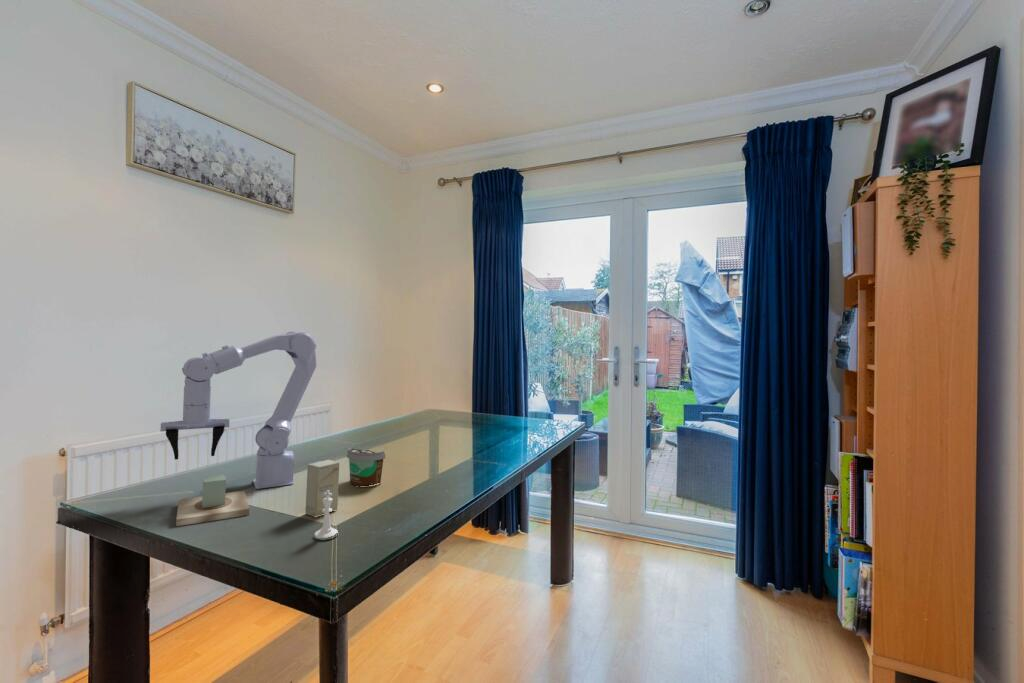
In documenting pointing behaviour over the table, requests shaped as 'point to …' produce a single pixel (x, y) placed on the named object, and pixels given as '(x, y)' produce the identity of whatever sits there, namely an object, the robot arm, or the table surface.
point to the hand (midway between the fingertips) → (194, 456)
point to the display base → (211, 509)
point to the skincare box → (321, 486)
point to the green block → (213, 491)
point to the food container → (365, 467)
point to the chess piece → (326, 519)
